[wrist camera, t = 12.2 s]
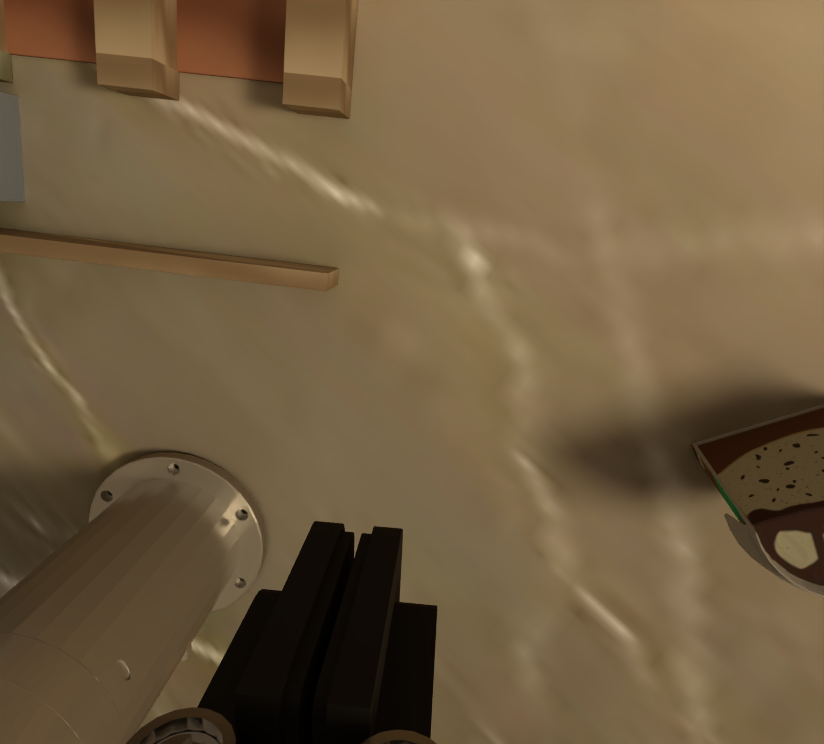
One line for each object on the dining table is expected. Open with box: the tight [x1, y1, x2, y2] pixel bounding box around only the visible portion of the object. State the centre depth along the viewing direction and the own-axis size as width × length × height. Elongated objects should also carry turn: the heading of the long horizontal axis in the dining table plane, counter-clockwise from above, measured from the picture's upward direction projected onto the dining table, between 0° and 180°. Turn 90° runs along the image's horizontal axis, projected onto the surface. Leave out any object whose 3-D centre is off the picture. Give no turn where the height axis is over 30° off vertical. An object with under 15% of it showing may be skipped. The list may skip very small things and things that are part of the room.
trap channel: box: [0, 0, 358, 291], centre depth 31 cm, size 18×26×4 cm
